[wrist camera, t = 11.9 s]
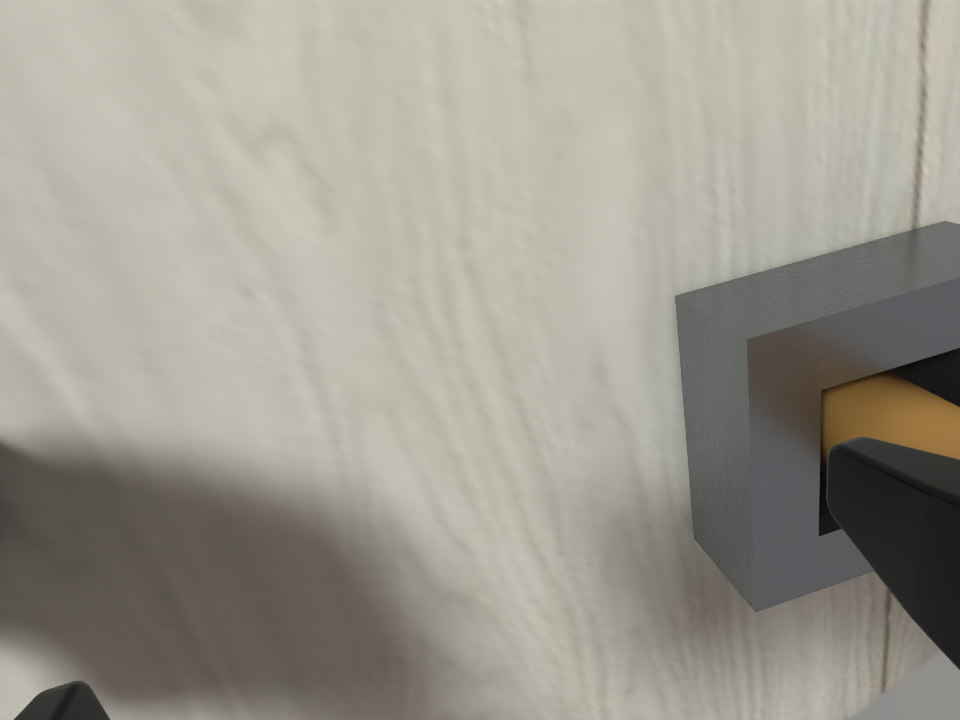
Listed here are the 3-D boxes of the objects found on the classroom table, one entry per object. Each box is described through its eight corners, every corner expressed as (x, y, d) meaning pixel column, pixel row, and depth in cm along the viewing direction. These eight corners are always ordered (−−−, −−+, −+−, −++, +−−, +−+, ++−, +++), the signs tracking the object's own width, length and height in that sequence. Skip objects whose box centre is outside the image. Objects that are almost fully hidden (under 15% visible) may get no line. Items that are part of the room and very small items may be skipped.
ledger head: (694, 538, 26) (755, 612, 23) (675, 295, 22) (746, 339, 19) (1090, 408, 29) (1202, 456, 25) (1140, 166, 25) (1283, 183, 21)
